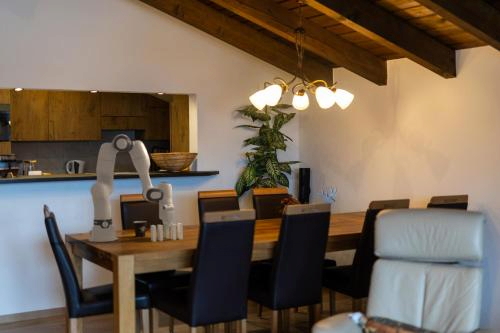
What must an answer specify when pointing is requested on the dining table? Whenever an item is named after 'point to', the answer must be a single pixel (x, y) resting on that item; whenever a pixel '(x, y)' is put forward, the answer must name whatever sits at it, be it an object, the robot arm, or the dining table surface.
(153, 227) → the domino
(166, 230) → the domino
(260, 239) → the dining table surface
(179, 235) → the domino
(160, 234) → the domino
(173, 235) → the domino
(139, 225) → the coffee mug
